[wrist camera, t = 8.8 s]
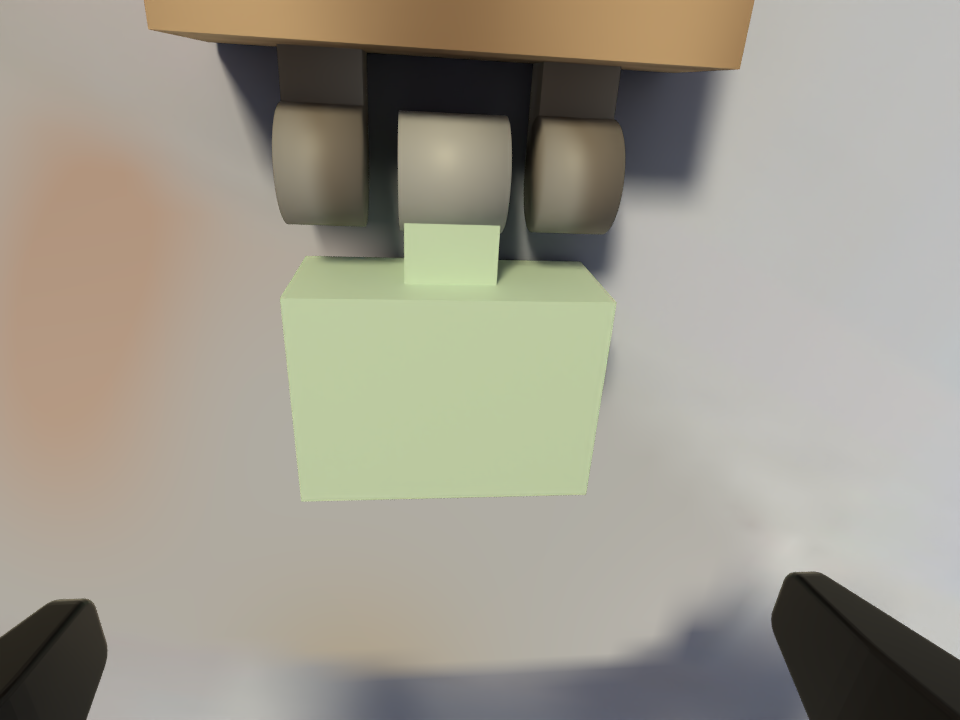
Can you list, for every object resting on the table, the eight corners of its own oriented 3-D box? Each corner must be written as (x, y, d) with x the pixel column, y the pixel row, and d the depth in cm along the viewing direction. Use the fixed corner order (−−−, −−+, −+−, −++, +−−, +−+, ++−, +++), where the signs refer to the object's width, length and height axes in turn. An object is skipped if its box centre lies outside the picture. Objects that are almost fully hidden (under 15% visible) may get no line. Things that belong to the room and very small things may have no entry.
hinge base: (701, -92, 12) (785, -144, 9) (646, 224, 15) (698, 255, 12) (185, -143, 11) (108, -220, 8) (229, 209, 13) (182, 240, 11)
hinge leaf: (598, 117, 13) (644, 127, 11) (559, 428, 17) (585, 494, 14) (292, 102, 13) (260, 109, 10) (320, 431, 16) (301, 501, 14)
